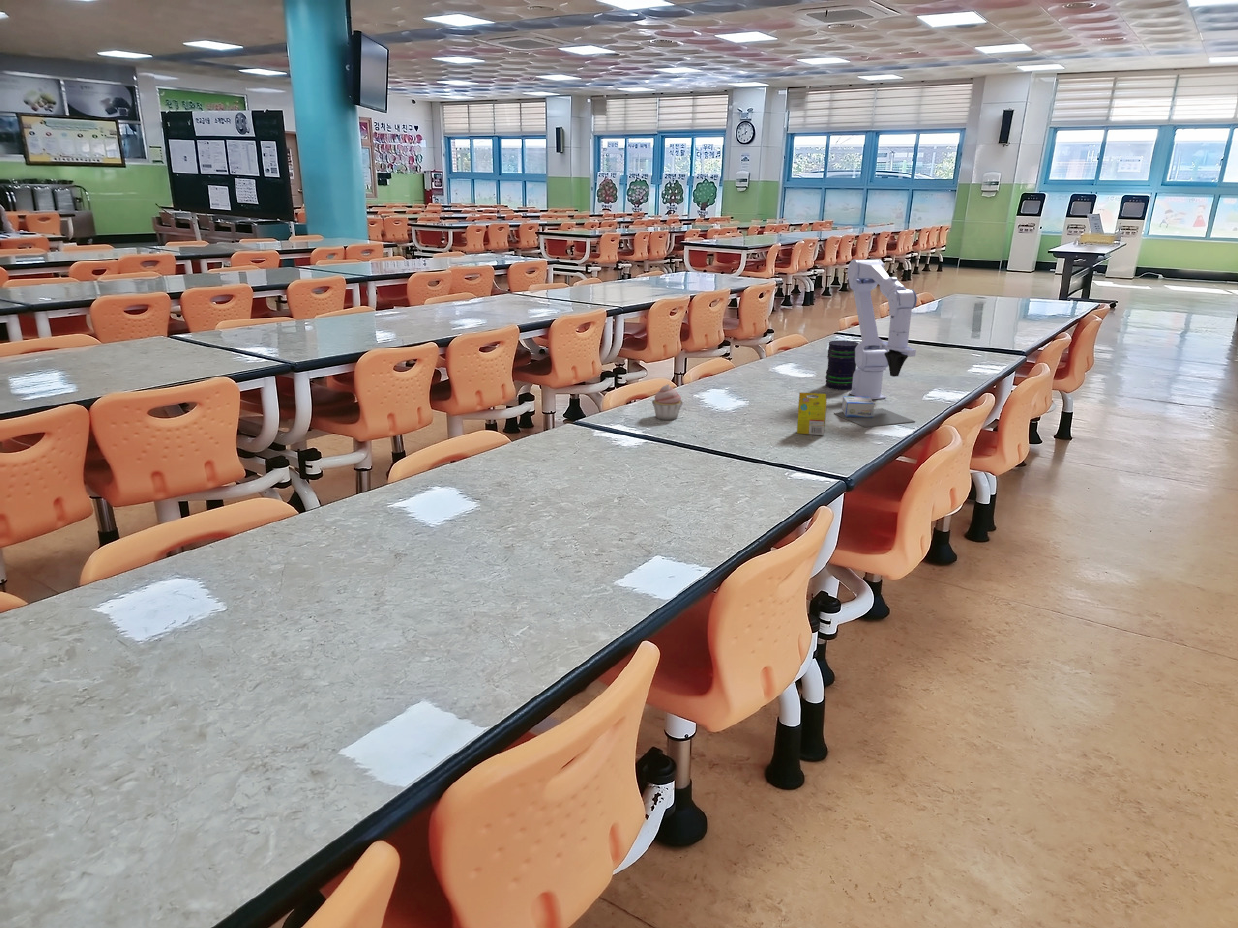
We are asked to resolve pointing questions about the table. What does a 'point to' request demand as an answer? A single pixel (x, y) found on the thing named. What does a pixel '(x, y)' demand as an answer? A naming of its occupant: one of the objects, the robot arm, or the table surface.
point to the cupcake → (667, 403)
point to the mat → (877, 418)
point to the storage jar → (840, 365)
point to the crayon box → (811, 414)
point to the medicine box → (857, 406)
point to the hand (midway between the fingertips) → (894, 376)
